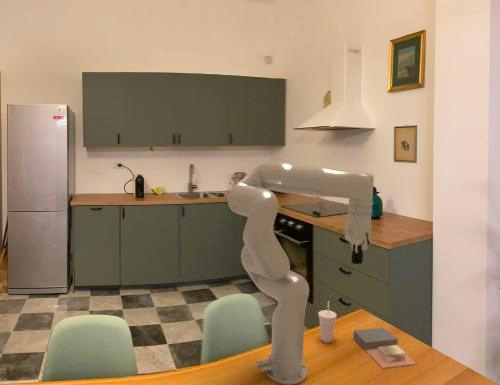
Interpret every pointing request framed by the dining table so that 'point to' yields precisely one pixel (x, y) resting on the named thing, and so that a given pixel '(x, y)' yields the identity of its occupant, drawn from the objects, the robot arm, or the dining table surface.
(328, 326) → the smoothie
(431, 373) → the dining table surface
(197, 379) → the dining table surface
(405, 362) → the mat
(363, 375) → the dining table surface
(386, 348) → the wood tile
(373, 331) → the plate
